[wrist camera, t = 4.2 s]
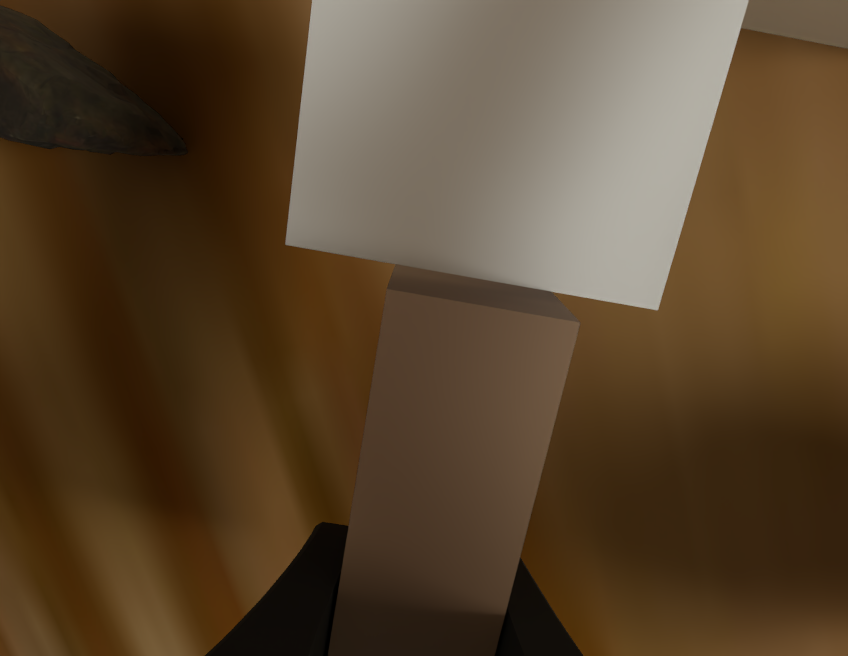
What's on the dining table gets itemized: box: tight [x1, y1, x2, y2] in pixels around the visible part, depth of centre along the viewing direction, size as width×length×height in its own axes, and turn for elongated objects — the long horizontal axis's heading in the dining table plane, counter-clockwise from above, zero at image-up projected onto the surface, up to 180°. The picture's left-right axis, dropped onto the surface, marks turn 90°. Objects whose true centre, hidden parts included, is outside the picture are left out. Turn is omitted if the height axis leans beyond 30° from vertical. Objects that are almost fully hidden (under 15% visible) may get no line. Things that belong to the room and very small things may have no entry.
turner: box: [285, 0, 749, 656], centre depth 10 cm, size 6×17×4 cm, turn 170°
